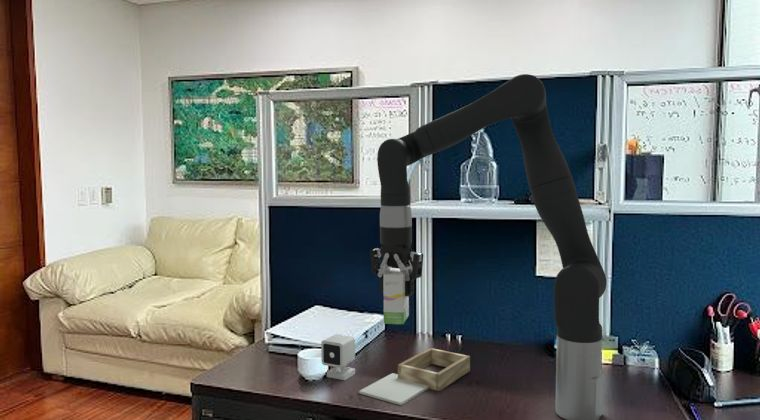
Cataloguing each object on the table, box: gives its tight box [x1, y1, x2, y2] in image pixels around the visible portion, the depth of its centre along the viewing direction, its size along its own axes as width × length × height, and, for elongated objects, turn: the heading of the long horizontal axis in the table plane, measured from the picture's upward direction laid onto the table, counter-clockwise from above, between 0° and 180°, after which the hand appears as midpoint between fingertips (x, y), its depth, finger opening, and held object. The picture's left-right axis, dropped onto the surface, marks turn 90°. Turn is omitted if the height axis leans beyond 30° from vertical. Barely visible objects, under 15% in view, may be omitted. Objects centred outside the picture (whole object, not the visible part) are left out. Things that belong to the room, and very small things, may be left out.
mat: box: [358, 372, 430, 406], centre depth 142 cm, size 12×14×1 cm
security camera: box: [320, 333, 356, 381], centre depth 150 cm, size 6×7×10 cm
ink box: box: [382, 259, 410, 325], centre depth 140 cm, size 9×5×15 cm, turn 168°
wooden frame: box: [397, 347, 471, 392], centre depth 150 cm, size 12×16×4 cm
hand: (396, 293), depth 140 cm, fingers closed on ink box, 6 cm apart
